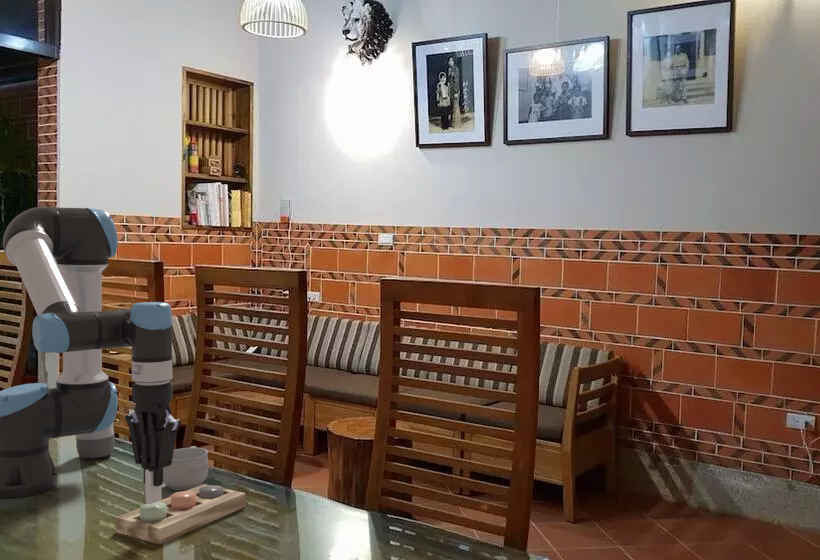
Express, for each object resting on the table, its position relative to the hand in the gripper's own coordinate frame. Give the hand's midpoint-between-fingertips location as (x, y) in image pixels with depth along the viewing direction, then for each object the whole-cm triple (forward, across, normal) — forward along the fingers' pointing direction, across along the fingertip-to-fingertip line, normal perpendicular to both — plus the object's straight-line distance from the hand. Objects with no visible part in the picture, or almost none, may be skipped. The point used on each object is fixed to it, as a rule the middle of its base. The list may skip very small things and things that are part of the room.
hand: (153, 501), depth 151 cm
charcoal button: (+5, 0, +16) cm, 17 cm away
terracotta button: (+4, 0, +8) cm, 9 cm away
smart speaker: (+6, -54, +30) cm, 62 cm away
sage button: (+4, 0, 0) cm, 4 cm away
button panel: (+6, 0, +8) cm, 10 cm away
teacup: (+6, -16, +25) cm, 31 cm away
